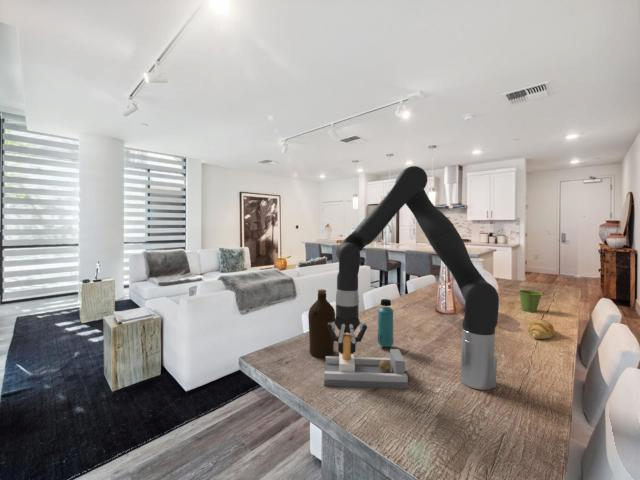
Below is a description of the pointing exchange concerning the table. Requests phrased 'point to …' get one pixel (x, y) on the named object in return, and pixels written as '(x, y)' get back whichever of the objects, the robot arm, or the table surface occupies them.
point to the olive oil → (321, 326)
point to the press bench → (367, 372)
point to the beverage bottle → (385, 324)
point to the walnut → (384, 366)
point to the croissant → (541, 329)
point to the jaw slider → (346, 355)
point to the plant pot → (529, 300)
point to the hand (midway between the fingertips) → (346, 352)
